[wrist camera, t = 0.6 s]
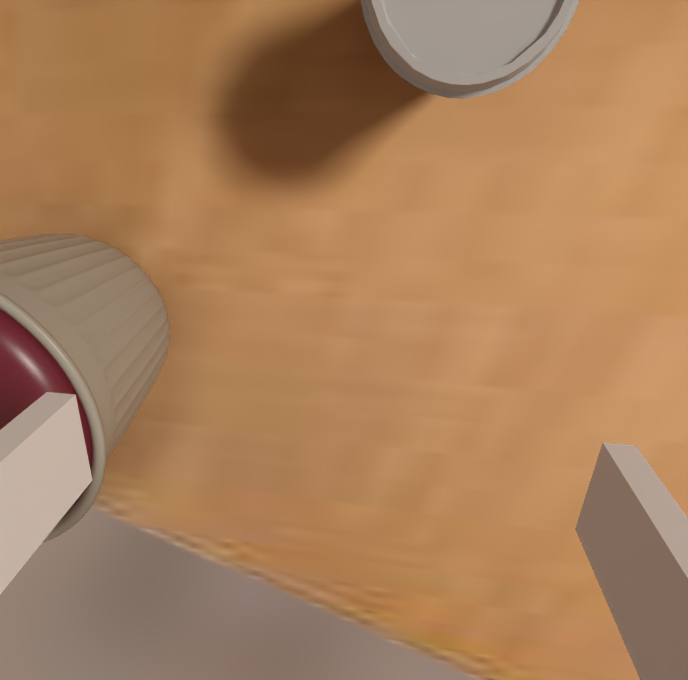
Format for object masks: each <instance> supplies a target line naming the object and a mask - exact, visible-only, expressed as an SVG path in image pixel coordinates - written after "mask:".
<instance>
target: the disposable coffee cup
mask: <svg viewBox="0 0 688 680" xmlns="http://www.w3.org/2000/svg"><path fill="white" fill-rule="evenodd" d="M578 2H579V0H361V5H362V11H363V17H364V20H365V22H366V25H367V27H368V30H369V33H370V35H371V38H372V40H373V43H374V44H375V46H376V47H377V49H378V51H379V52H380V54H381V55H382V57H383V58H384V60H385V61H386V63H387V64H388V65H389V66H390V67H391V68H392V69H393V70H394V71H395V72H396V73H397V74H398V75H399V76H400V77H402V78H403V79H405V80H406V81H408V82H409V83H410V84H412V85H413V86H415V87H417V88H419V89H421V90H424V91H426V92H428V93H431V94H435V95H439V96H443V97H448V98H470V97H478V96H482V95H486V94H490V93H494V92H496V91H498V90H500V89H503V88H505V87H507V86H509V85H511V84H513V83H515V82H516V81H518V80H519V79H521V78H522V77H523V76H525V75H526V74H528V73H529V72H530V71H532V70H533V69H534V68H535V67H536V66H537V65H538V64H539V63H540V62H541V61H542V60H543V59H544V58H545V57H546V56H547V55H548V54H549V53H550V52H551V51H552V50H553V48H554V47H555V45H556V44H557V42H558V41H559V39H560V38H561V36H562V35H563V33H564V32H565V30H566V29H567V27H568V25H569V23H570V21H571V19H572V17H573V14H574V12H575V10H576V8H577V6H578Z"/></svg>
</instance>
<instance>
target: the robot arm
mask: <svg viewBox="0 0 688 680" xmlns="http://www.w3.org/2000/svg"><path fill="white" fill-rule="evenodd" d="M91 481H92V475H91V470H90V465H89V460H88V455H87V450H86V445H85V440H84V434H83V429H82V424H81V419H80V414H79V409H78V404H77V399H76V395H75V394H64V393H53V392H46V393H45V394H44V395H42V396H41V397H40V398H39V399H38V400H36V401H35V402H34V403H33V404H31V405H30V406H29V407H28V408H27V409H25V410H24V411H23V412H22V413H20V414H19V415H18V416H17V417H16V418H14V419H13V420H12V421H11V422H9V423H8V424H7V425H6V426H5V427H3V428H2V429H1V430H0V594H1V593H2V591H3V590H4V589H5V588H6V586H7V585H8V584H9V583H10V581H11V580H12V579H13V578H14V577H15V575H16V574H17V573H18V571H19V570H20V569H21V568H22V567H23V565H24V564H25V563H26V562H27V560H28V559H29V558H30V557H31V556H32V554H33V553H34V552H35V551H36V549H37V548H38V547H39V546H40V544H41V543H42V542H43V541H44V540H45V538H46V537H47V536H48V535H49V533H50V532H51V531H52V530H53V528H54V527H55V526H56V525H57V523H58V522H59V521H60V520H61V519H62V517H63V516H64V515H65V514H66V512H67V511H68V510H69V509H70V507H71V506H72V505H73V504H74V502H75V501H76V500H77V499H78V498H79V496H80V495H81V494H82V493H83V491H84V490H85V489H86V488H87V486H88V485H89V484H90V483H91ZM576 532H577V534H578V536H579V539H580V541H581V543H582V545H583V548H584V550H585V552H586V555H587V557H588V559H589V562H590V564H591V566H592V569H593V571H594V573H595V576H596V578H597V580H598V583H599V585H600V587H601V589H602V592H603V594H604V596H605V599H606V601H607V603H608V606H609V608H610V610H611V613H612V615H613V617H614V620H615V622H616V624H617V627H618V629H619V631H620V634H621V636H622V638H623V640H624V643H625V645H626V647H627V650H628V652H629V654H630V657H631V659H632V661H633V664H634V666H635V668H636V671H637V673H638V675H639V678H640V680H688V518H687V516H686V515H685V514H684V512H683V511H682V509H681V508H680V507H679V505H678V504H677V502H676V501H675V500H674V498H673V497H672V495H671V494H670V493H669V491H668V490H667V489H666V487H665V486H664V484H663V483H662V482H661V480H660V479H659V477H658V476H657V475H656V473H655V472H654V470H653V469H652V468H651V466H650V465H649V463H648V462H647V461H646V459H645V458H644V456H643V455H642V454H641V452H640V451H639V449H638V448H637V447H636V445H625V444H614V443H602V447H601V450H600V453H599V456H598V459H597V462H596V465H595V469H594V472H593V475H592V478H591V481H590V484H589V488H588V491H587V494H586V497H585V500H584V503H583V507H582V510H581V513H580V516H579V519H578V522H577V525H576Z"/></svg>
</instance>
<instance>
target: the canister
mask: <svg viewBox="0 0 688 680" xmlns="http://www.w3.org/2000/svg"><path fill="white" fill-rule="evenodd" d="M169 330H170V324H169V322H168V312H167V311H166V309H165V306H164V300H163V299H162V298H161V296H160V294H159V291H158V288H157V287H156V286H155V285H154V284H153V282H152V281H151V278H150V277H149V276H148V275H147V274H146V273H145V272H144V271H143V270H142V268H141V266H139V265H137V264H136V263H134V262H133V261H132V259H131V258H130V257H128V256H126V255H124V254H123V253H121V252H120V251H119V250H118V249H116V248H112V247H110V246H108V245H107V244H106V243H104V242H100V241H95V240H93V239H91V238H89V237H79V236H76V235H72V234H64V235H58V234H47V235H39V236H31V237H23V238H15V239H8V240H2V241H0V430H1V429H2V428H3V427H5V426H6V425H7V424H8V423H9V422H11V421H12V420H13V419H14V418H16V417H17V416H18V415H19V414H20V413H22V412H23V411H24V410H25V409H27V408H28V407H29V406H30V405H31V404H33V403H34V402H35V401H36V400H38V399H39V398H40V397H41V396H42V395H44V394H45V393H46V392H53V393H64V394H75V395H76V399H77V404H78V409H79V414H80V419H81V424H82V429H83V434H84V440H85V445H86V450H87V455H88V460H89V465H90V470H91V475H92V481H91V483H90V484H89V485H88V486H87V488H86V489H85V490H84V491H83V493H82V494H81V495H80V496H79V498H78V499H77V500H76V501H75V502H74V504H73V505H72V506H71V507H70V509H69V510H68V511H67V512H66V514H65V515H64V516H63V517H62V519H61V520H60V521H59V522H58V523H57V525H56V526H55V527H54V528H53V530H52V531H51V532H50V533H49V535H48V536H47V537H46V538H45V540H44V541H43V542H46V541H48V540H51V539H53V538H54V537H57V536H59V535H61V534H62V533H64V532H66V531H67V530H69V529H70V528H71V527H73V526H74V525H75V524H76V523H77V522H78V521H79V520H80V519H81V518H82V517H83V516H84V515H85V514H86V513H87V511H88V510H89V509H90V507H91V506H92V504H93V503H94V501H95V499H96V497H97V495H98V493H99V490H100V488H101V485H102V482H103V478H104V473H105V465H106V461H107V460H108V458H109V457H110V455H111V454H112V452H113V450H114V449H115V447H116V445H117V444H118V442H119V440H120V439H121V437H122V435H123V434H124V432H125V430H126V429H127V427H128V426H129V424H130V422H131V421H132V419H133V418H134V416H135V414H136V413H137V411H138V410H139V408H140V406H141V405H142V403H143V401H144V400H145V398H146V396H147V394H148V393H149V391H150V389H151V387H152V385H153V384H154V382H155V380H156V378H157V376H158V375H159V373H160V371H161V369H162V366H163V363H164V360H165V358H166V356H167V352H168V344H169V341H170V336H169ZM43 542H42V543H43Z"/></svg>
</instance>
